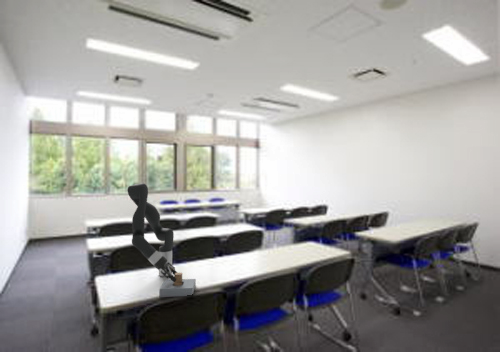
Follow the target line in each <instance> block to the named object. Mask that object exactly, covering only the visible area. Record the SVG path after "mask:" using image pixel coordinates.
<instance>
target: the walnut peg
mask: <svg viewBox="0 0 500 352" xmlns="http://www.w3.org/2000/svg"><path fill="white" fill-rule="evenodd" d="M173 276H174V277H175V278H176V279H177V280H176V281H175V282H174V286H181V285H182V279H183V272H177V273H175V275H174V274H173Z"/></svg>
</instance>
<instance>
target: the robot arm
mask: <svg viewBox="0 0 500 352" xmlns="http://www.w3.org/2000/svg"><path fill="white" fill-rule="evenodd" d="M127 195H128V196H129V198H130V199H131V200H132V201H133V203H134V204H135V205H136V207H137V208H136V209H135V211H134V213H133V214H132V219H131V223H132V225H131V229H132V239H131V244H132V245H133V247H134V248H136V249H137V250H138V251H139V252H140V253H141V254H142V255H143V257H144V258H146V259H147V260H148V261H149V262H150V263H151V265H153V266H154V267H155V268H156V270H158V276H160V277H164V278H166V280H172V281H173V282H175V281H176V280H177V279H176V278H175V277H174V275H175V273H178V271H177V270H176V267H175V266H174V265H173V247H174V246H173V245H174V239H175V238H174V234H175V233H174V230H173V229H172V228H168V227H167V228H164V227H163V226H162V225H161V223H160V221H161V214H160V212H159V211H158V209H157V207H156V206H155V205H153V204H152V203H150V202H148V198H149V197H148V195H149V188H148V185H147V184H146V183H144V182H143V183H136V184H131V185H128V187H127ZM145 220H146V221H147V223H148V225H149V226H150V228H151V229H152V231H153V232H154V236H155V237H156V239H157V240H158V241H161V242H164V244H163V245H161V246H159V248H158V250H157V249H156V248H155V247H154V246H153V245H151V244H150V242H149V241H148V240H147V239H146V238H145Z"/></svg>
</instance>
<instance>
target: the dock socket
mask: <svg viewBox="0 0 500 352" xmlns="http://www.w3.org/2000/svg"><path fill="white" fill-rule="evenodd" d="M196 280H197V279H196V278H185V279H184V278H182V285H181V286H174V282H173V281H172V280H171V279H164V282H163V283H162V284H161V286H160V287H159V293H158V294H159V295H158V296H159V298H165V297H170V298H171V297H188V296H187V295H192V294H193V295H194V292H195V289H196V286H197V285H196Z"/></svg>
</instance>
